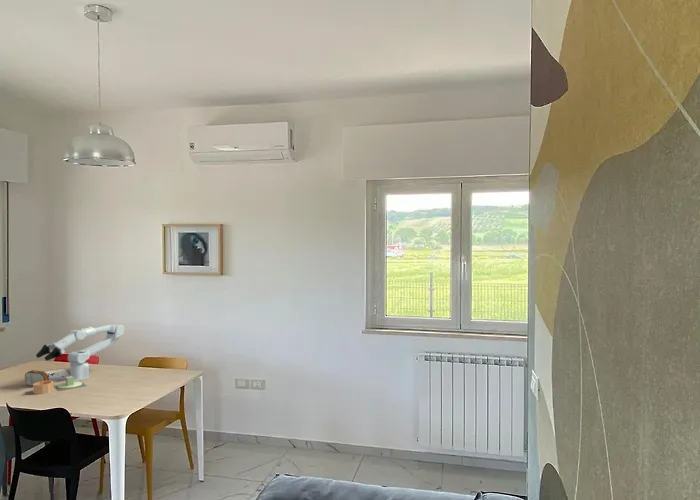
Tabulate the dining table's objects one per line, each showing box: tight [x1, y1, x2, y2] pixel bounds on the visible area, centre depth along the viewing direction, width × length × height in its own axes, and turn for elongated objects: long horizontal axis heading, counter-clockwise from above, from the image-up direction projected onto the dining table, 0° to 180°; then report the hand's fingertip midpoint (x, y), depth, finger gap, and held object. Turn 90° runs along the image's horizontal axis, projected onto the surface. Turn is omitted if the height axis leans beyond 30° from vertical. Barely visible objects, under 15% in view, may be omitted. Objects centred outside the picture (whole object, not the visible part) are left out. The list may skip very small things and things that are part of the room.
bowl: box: [32, 380, 54, 395], centre depth 258 cm, size 9×9×5 cm
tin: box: [24, 369, 50, 387], centre depth 270 cm, size 15×3×8 cm, turn 74°
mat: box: [53, 380, 87, 392], centre depth 268 cm, size 14×14×1 cm
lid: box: [57, 375, 83, 390], centre depth 268 cm, size 12×12×5 cm
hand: (41, 357), depth 266 cm, fingers open, 7 cm apart
